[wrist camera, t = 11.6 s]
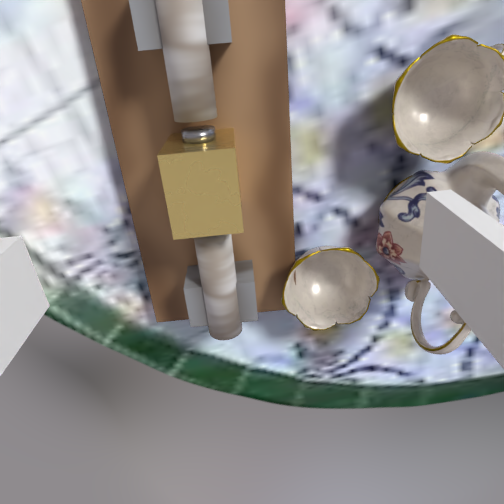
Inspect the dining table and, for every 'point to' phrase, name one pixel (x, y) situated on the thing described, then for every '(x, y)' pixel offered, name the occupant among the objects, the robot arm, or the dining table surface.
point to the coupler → (201, 182)
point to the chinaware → (416, 185)
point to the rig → (196, 114)
